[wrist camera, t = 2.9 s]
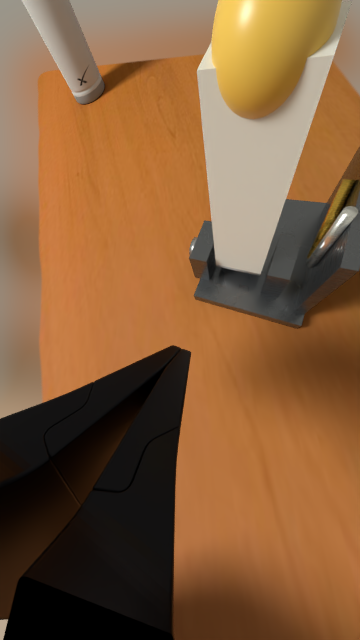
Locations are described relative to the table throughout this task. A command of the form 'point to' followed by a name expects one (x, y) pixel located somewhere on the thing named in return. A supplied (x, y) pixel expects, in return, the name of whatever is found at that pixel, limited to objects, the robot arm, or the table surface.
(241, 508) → the table surface
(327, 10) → the selector lever
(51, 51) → the travel mug
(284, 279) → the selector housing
